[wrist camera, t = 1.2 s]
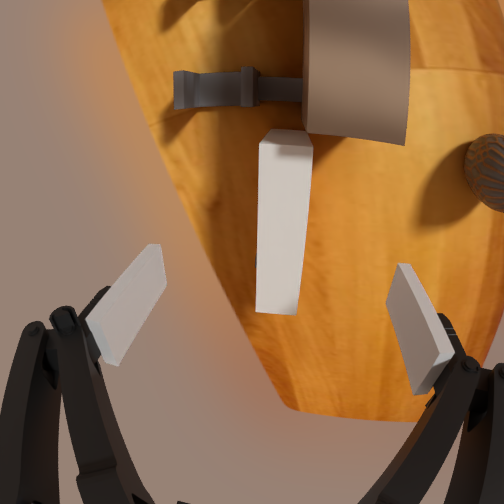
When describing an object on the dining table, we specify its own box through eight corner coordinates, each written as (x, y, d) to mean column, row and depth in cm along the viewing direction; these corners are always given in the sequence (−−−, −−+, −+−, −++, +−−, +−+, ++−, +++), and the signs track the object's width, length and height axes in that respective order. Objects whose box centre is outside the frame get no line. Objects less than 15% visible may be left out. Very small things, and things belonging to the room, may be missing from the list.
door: (265, 128, 23) (250, 143, 16) (306, 130, 23) (313, 147, 15) (261, 251, 29) (249, 311, 22) (297, 254, 29) (296, 315, 21)
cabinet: (196, -36, 15) (143, -88, 6) (359, -34, 14) (390, -93, 4) (193, 117, 23) (129, 134, 14) (359, 125, 22) (404, 145, 12)
